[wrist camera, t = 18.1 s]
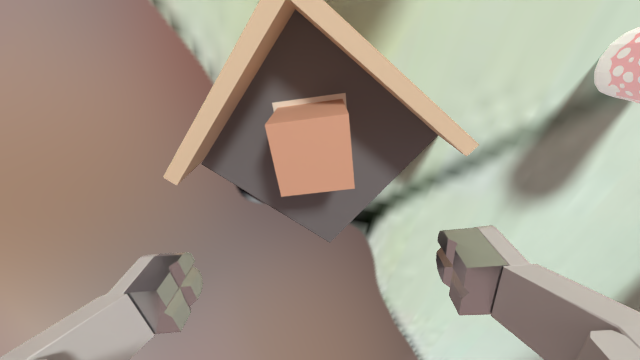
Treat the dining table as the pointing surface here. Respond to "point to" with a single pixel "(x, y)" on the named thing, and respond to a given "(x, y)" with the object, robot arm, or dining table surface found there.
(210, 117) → the arena
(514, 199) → the dining table surface
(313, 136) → the cube
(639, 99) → the beverage cup
